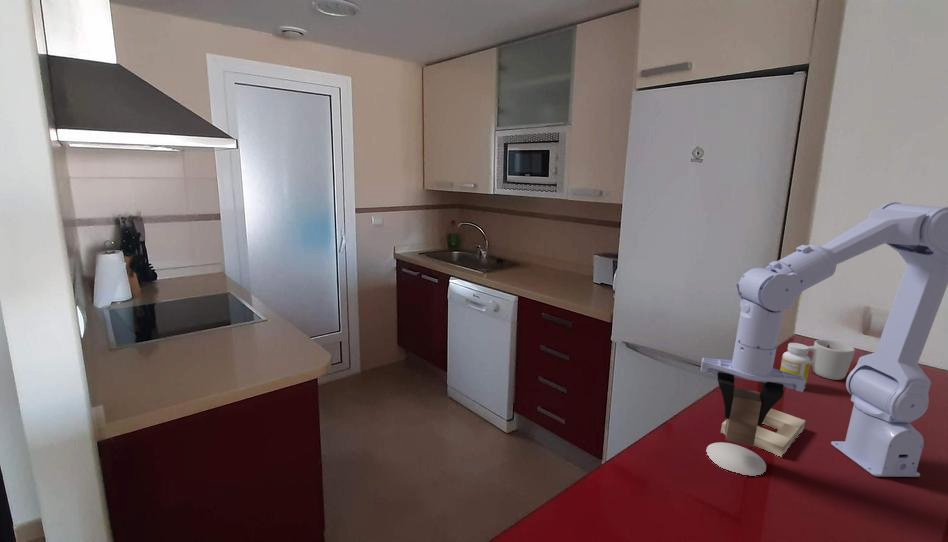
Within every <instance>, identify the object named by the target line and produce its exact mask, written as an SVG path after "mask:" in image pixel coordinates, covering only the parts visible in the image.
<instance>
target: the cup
mask: <svg viewBox="0 0 948 542" xmlns="http://www.w3.org/2000/svg"><path fill="white" fill-rule="evenodd" d="M807 346H808V345H807ZM808 347H809V352H811V354H812V355H811V357H810V360H811V362H810V367H812V370H813V373H814V374H816V375H817V376H819V377H822V378H824V379H828V380H834V381H838V380H839V381H840V380H844V379H845V378H846V376H847V373H848V372H849V368H850V367H851V363H852V361H853V359H854V356H855V353H856V349H855V348H854V347H853V346H852V345H849V344H846V343H843V342H840V341H836V340H829V339H817V340H815V341H814V343H813V345H809V346H808Z"/></svg>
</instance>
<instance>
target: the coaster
mask: <svg viewBox="0 0 948 542" xmlns="http://www.w3.org/2000/svg"><path fill="white" fill-rule="evenodd" d="M705 450H706V451H705V452H707V454H706V456H707V455H708V456H709V458H710V459H711V460H712V461H713V462H714V463H715V464H717V465H718V466H719V468H720V467H721V468H720V469H722V468H723V469H726V470H729V471H732V472H736V473H740V474H742V475H749V476H755V477H757V476H756V475H760V476H761V474H762V475H764V474H765V473H764V472H766V470H767V463H766V462H765V460H764V459H763V458H762V457H761V456H760V455H759V454H757V453H755V451H752V450H750V449H748V448H747V447H743V446H741V445H738V444H734V443H730V442H722V441H721V442H714V443H710V444H709V445H708V446H707V447H706V449H705ZM709 458H708V459H709ZM710 459H709V460H710ZM713 462H712V463H713ZM714 463H713V464H714ZM715 464H714V465H715ZM717 465H716V466H717ZM718 466H717V467H718ZM723 469H722V470H723ZM726 470H725V471H726ZM763 473H764V474H763Z"/></svg>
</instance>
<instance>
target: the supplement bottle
mask: <svg viewBox="0 0 948 542" xmlns="http://www.w3.org/2000/svg"><path fill="white" fill-rule="evenodd" d="M809 352H810V351H809V347H808V345H806V344H802V343H800V342H799V343H797V342H789V343H788V344H787V351H785V352H784V353H783V354H782V356H781V363H780V369H779V370H781V371H784V372H788V373H791V374H795V375H800V376H803V377H804V379H805V385H804V390H805V389H806V387H807V383H808V382H807V381H808V378H809V377H808V376H809V373H810V367H811V365H810V362H811V360H810V359H811V357H810V356H808V355H809ZM786 388H787V389H790V390H794V389H793V388H788V387H786Z"/></svg>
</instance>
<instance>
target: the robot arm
mask: <svg viewBox="0 0 948 542" xmlns="http://www.w3.org/2000/svg"><path fill="white" fill-rule="evenodd" d="M885 244H886V245H887V246H889V247H890V248H892V249H893V250H895V251H896V252H897V253H898V254H899V255H900V257H902V259H903V260H904V262H905V263H906V266H905V269H904V272H903V275H902V276H901V277H902V278H901V280H900V283H899V285H898V289H897V291H896V294H895V296H894V300H893V303H892V305H891V308H890V310H889V314H888V317H887V319H886V323H885V325H884V328H883V330H882V333H881V336H880V339H879V341H878V344H877V347H876V350H875V352H873V353H869V354H865V355H862V356H860V357H858V360H857V363H856V365H855V367H854V368H853V369H852V370H851V371H850V372H849V374H848V375H847V377H846V381H845V387H846V390H847V392H848V393H849V394H850V395H851V397H850V402H852V403H853V407H852V411H851V414H850V415H851V416H850V419H849V422H848V423H849V424H848V428H847V432H846V437H845V439H844V440H845V441H844V440H843V441H841V440H839V441H835V440H834V441H831V442H830V444H831V446H833V447H834V448H835V449H837V450H839V451H840V452H841V453H843V454H844V455H845V456H847V457H848V458H849V459H851V460H852V461H853V462H854V463H856V464H857V465H858V466H860V467H861V468H862V469H864V470H865V471H867V472H868V473H870V474H871V475H872V476H874V477H887V478H888V477H894V478H895V477H900V478H901V477H908V478H909V477H911V478H916V477H917V478H919V477H920V476H921V473H920V472H918V467H919V463H920V460H921V456H922V452H923V448H924V445H925V441H924V437H923V435H922V434H921V432H919V431H918V430H917V429H916V428H915V427H913V425H912V424H911V423H914V421H917V420H918V419H919V418H921V417H922V416H923V415H924V414H926V412H927V410H928V407H929V402H930V398H929V391H930V387H931V385H932V382H931V380H930V378H929V377H928V376H927V375H926V373H925V372H924V371H923V368H922V367H921V366H920V364H919V361H920V358H921V356H922V353H923V350H924V348H925V345H926V342H927V341H928V338H929V335H930V332H931V329H932V327H933V324H934V322H935V319H936V317H937V314H938V312H939V308H940V306H941V303H942V301H943V298H944V296H945V293H946V291H947V288H948V206H933V205H930V206H929V205H921V204H920V205H919V204H910V203H909V204H908V203H901V202H896V201H895V202H893V201H891V202H887V203H885V204H883V205H881V206H880V207H879V208H875V209H873V210H871V211H870V212H869V213H868V216H867V218H866V219H864V220H863V221H861V222H859V223H857V224H856V225H854V226H853V227H851V228H850V229H848V230H846V231H844V232H843V233H841V234H840V235H838V236H836V237H835V238H833V239H831V240H830V241H828V242H827V243H825V244H823V245H822V246H819V245H817V244H808V245H806V244H802V245H799V246H797V247H796V248H795V252H792V253H790V254H788V255H786V256H785V257H783V258H782V257H781V259H779V260H777V261H776V260H773V261H771V262H769V263H768V265H767V266H766V267H765V268H763V267H755V268H751V269H749V270H748V271H747V272H745V273H743V275H742V276H741V278H740V280H739V281H738V282H736V283H735V292H736V294H737V296H738V297H739V308H740V312H739V313H740V314H739V320H738V324H737V331H736V336H735V337H736V338H735V343H734V349H733V354H732V360H731V359H717V358H707V357H702V358H701V364H700V372H701V373H704V374H708V373H713V374H715V375H716V374H717V375H716V376H717V383H718V385H719V389H720V391H721V396H722V399H723V404H724V409H723V414H724V415H723V417H724V419H725V420H727V419H729V417H730V411H731V401H732V396H733V392H734V388H735V381H736V379H735V378H738V379H743V380H748V381H752V382H758V383H761V387H760V392H759V394H760V398H761V402H762V403H761V408H760V414H759V419H758V424H757V426H759V427H762V423H763V420H764V418H765V417H766V415H767V413H768V412H769V410H770V409H773V407H774V406H775V404H776V403H778V401H780V400H781V399H782V398H783V396H784V393H785V391H784V388H787V387H788V388H787V389H790V388H793V389H792V390H794V391H796V392H801V393H803V392H804V390H805V389H804V385H805V379H804V377H803V376H800V375H795V374H791V373H788V372H784V371H781V370H780V369H776V368H774V364H775V357H776V351H777V348H778V343H779V342H778V341H779V336H780V330H781V326H782V321H783V315H784V310H788V309H790V308H791V307H792V306H793V305H794V303H795V302H796V300H797V298H798V297H799V296H800V295H802V293H803V292H804V291H806V290H808V289H809V288H812V287H814V286H815V285H817V284H819V283H821V282H823V281H826V280H827V279H829V278H830V277H833V275H834V274H835V273H836V271H837V270H836V269H837V266H838V265H839V264H841V263H844V262H846V261H848V260H850V259H852V258H855V257H857V256H860V255H862V254H864V253H866V252H869V251H871V250H873V249H875V248H877V247H880V246H882V245H885Z"/></svg>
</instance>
